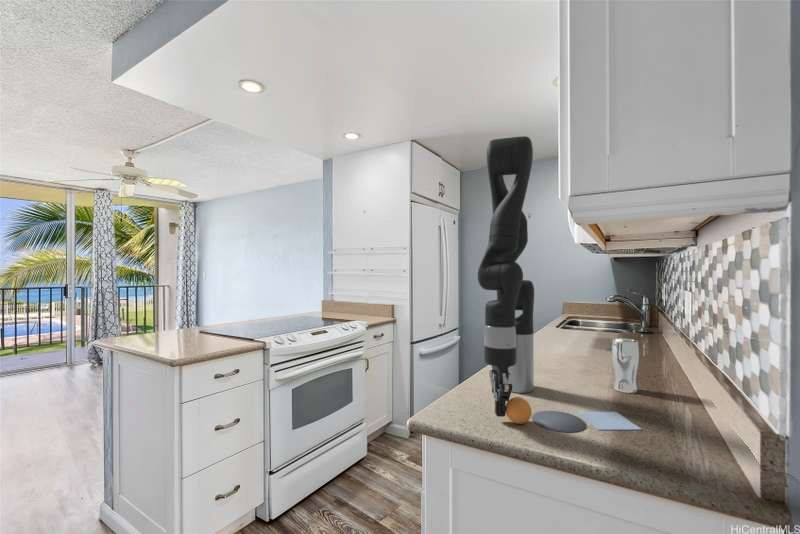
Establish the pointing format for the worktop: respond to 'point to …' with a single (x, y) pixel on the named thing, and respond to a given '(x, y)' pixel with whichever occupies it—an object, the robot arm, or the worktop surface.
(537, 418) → the disc
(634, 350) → the beer glass
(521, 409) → the ball
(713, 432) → the worktop surface
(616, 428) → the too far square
